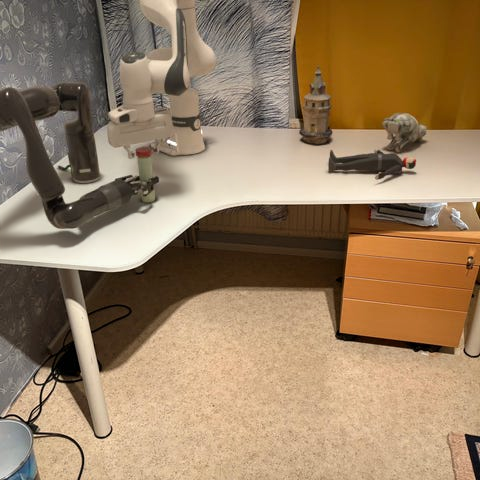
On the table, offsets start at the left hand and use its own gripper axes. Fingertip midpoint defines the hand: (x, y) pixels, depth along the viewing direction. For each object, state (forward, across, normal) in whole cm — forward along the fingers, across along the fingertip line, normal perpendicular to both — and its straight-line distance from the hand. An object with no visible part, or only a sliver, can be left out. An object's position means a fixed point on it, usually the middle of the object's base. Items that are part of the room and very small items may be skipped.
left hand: (152, 177), depth 171 cm
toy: (+61, -48, +7) cm, 78 cm away
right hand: (-3, 0, -8) cm, 9 cm away
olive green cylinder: (-3, 0, +7) cm, 7 cm away
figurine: (+91, -48, +7) cm, 103 cm away
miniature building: (+78, -15, +7) cm, 80 cm away
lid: (-3, 0, -10) cm, 10 cm away
